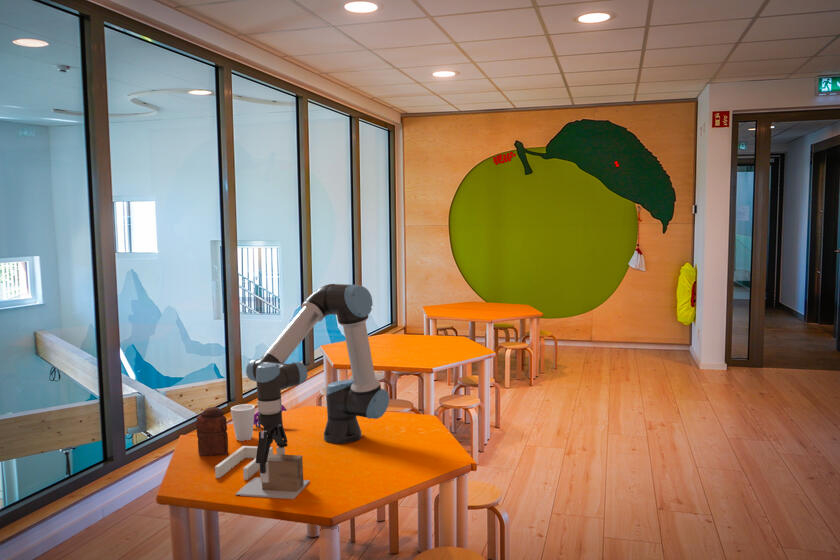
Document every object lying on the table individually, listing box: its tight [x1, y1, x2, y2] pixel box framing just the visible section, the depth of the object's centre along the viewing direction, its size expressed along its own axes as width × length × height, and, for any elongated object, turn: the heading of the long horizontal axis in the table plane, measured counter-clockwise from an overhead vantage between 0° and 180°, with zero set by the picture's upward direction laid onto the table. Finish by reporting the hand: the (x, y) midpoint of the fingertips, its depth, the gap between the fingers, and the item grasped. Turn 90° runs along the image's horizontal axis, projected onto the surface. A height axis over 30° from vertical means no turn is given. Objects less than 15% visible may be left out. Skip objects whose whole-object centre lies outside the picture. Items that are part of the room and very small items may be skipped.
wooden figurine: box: [195, 406, 229, 456], centre depth 260 cm, size 12×6×18 cm, turn 96°
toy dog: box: [253, 404, 288, 430], centre depth 291 cm, size 4×18×10 cm, turn 99°
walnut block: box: [262, 453, 304, 492], centre depth 224 cm, size 6×12×10 cm, turn 79°
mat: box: [235, 476, 311, 500], centre depth 225 cm, size 20×14×1 cm
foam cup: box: [230, 403, 256, 442], centre depth 277 cm, size 10×9×13 cm
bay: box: [214, 445, 274, 481], centre depth 245 cm, size 12×22×4 cm, turn 169°
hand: (273, 473), depth 225 cm, fingers open, 13 cm apart
